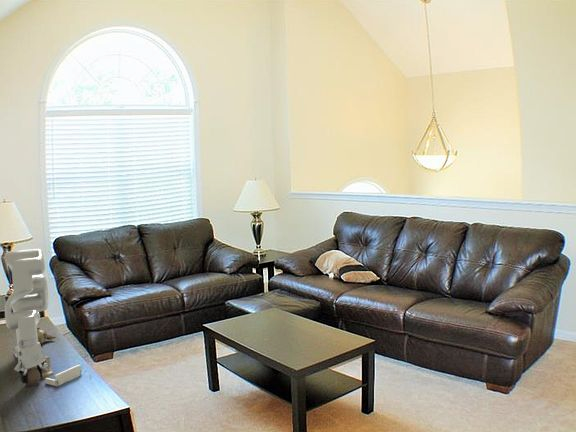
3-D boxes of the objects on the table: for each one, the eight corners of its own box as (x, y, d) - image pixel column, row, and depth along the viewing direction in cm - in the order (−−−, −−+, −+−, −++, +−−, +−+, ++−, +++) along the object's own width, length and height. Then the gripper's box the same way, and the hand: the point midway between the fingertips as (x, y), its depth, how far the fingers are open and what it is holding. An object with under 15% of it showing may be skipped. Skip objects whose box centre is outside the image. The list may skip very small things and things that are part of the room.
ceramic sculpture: (36, 323, 327) (56, 327, 321) (37, 337, 329) (57, 341, 323) (21, 328, 318) (41, 332, 312) (22, 343, 319) (42, 348, 313)
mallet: (21, 370, 274) (20, 354, 274) (30, 366, 279) (29, 351, 278) (41, 374, 268) (40, 358, 267) (50, 370, 272) (49, 355, 271)
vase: (34, 387, 256) (32, 368, 255) (21, 387, 257) (19, 368, 256) (44, 381, 263) (42, 363, 262) (30, 381, 264) (29, 362, 263)
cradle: (45, 383, 260) (44, 373, 260) (70, 372, 273) (69, 362, 272) (57, 386, 257) (56, 375, 256) (81, 375, 269) (80, 364, 269)
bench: (22, 374, 272) (20, 359, 272) (36, 368, 279) (35, 354, 279) (40, 378, 266) (39, 363, 265) (55, 372, 273) (53, 357, 272)
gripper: (17, 349, 248) (21, 388, 250) (50, 337, 264) (53, 374, 266) (6, 346, 252) (9, 385, 254) (39, 335, 267) (42, 371, 269)
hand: (32, 379), depth 260 cm, fingers closed on vase, 7 cm apart
